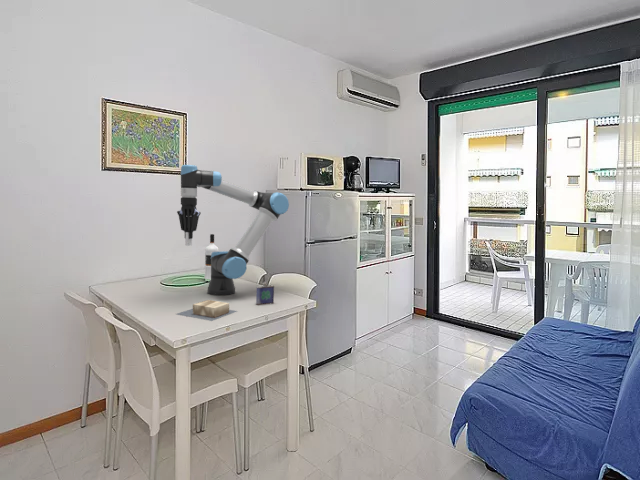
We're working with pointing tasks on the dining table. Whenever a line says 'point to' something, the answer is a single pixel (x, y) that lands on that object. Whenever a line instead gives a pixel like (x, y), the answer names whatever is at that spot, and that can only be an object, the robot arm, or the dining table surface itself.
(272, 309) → the dining table surface
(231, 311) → the mat
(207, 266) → the vodka
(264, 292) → the flask
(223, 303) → the wooden block
